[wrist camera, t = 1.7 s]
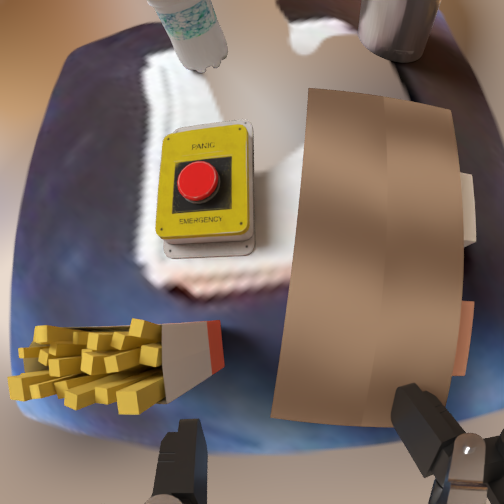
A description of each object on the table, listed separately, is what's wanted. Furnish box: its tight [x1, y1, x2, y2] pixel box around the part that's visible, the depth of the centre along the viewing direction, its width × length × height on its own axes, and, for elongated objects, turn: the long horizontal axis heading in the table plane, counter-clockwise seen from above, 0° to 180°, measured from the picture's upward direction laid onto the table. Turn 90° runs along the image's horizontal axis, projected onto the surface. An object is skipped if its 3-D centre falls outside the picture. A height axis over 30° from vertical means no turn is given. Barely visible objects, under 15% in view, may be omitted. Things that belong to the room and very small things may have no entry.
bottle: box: [147, 0, 228, 73], centre depth 26 cm, size 7×7×20 cm
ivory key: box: [460, 172, 476, 247], centre depth 19 cm, size 4×4×4 cm
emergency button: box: [155, 119, 255, 258], centre depth 31 cm, size 9×4×15 cm
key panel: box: [270, 88, 464, 427], centre depth 21 cm, size 16×8×16 cm, turn 172°
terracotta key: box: [452, 301, 474, 376], centre depth 17 cm, size 4×4×4 cm
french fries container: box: [8, 318, 225, 414], centre depth 21 cm, size 5×11×18 cm, turn 95°
